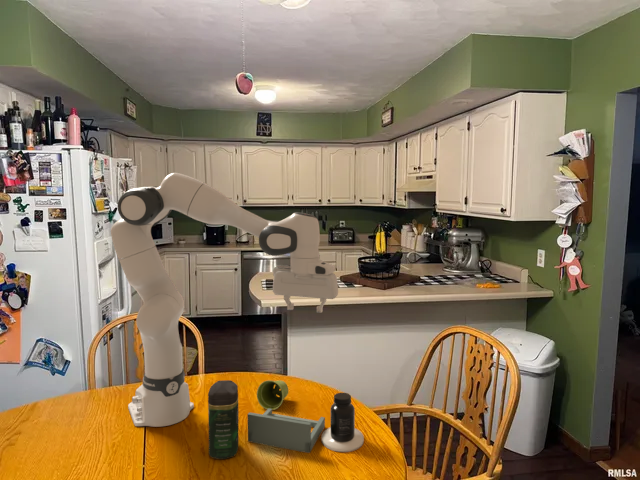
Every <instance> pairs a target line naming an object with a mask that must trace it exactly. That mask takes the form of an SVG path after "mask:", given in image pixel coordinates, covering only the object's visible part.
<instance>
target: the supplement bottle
mask: <svg viewBox="0 0 640 480" xmlns="http://www.w3.org/2000/svg"><path fill="white" fill-rule="evenodd" d="M355 424H356V423H355V407H354V405H353V404H352V396H351V395H350V394H349V393H347V392H338V393H335V394H334V397H333V404H332V405H331V407H330V427H331V437H332V439H334V440H335V441H338V442H348V441H351V440H352V439H353V438H354V432H355V426H356V425H355Z"/></svg>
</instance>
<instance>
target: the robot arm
mask: <svg viewBox="0 0 640 480" xmlns="http://www.w3.org/2000/svg"><path fill="white" fill-rule="evenodd" d="M172 210H173V211H176V212H179V213H180V214H183V215H185V216H187V217H189V218H192V219H193V220H195V221H199V222H202V223H203V224H204V223H205V224H206V225H207V224H208V225H223V226H224V225H225V226H231V227H234V228H237V229H239V230H241V231H244V232H245V233H248V234H249V235H250V234H251V235H252V236H254V237H256V238H258V245H259V247H260V249H261V250H262V252H264V253H265V254H266V255H269V256H271V257H279V256H282V255H283V256H284V255H287V254H290V257H289V258H290V264H284V265H283V264H277V265H276V266H274V267H273V270H272V272H273V274H272V275H273V281H272V292H273V294H274V295H276V296H283V300H284V302H285V303H286V305H287V308H286V309H287V311H293V310H294V307H295V306H294V303H292V302H291V300H290V298H291V297H297V298H298V297H299V298H300V297H301V298H312V299H313V298H314V299H319V302H320V305H317V306H316V313H323V311H324V310H323V309H324V308H323V307H324V306H325V304H326V302H327V300H335V298H337V296H338V295H339V284H338V278H337V275H336V274H335V273H334V272H335V270H336V268H335V267H336V266H335V265H334V264H332V263H330V262H326V261H325V260H321V257H320V256H321V255H320V251H319V247H320V242H321V235H320V233H321V232H320V221H319V220H318V218H317V217H316V216H314V215H313V214H311V213H307V212H299V211H295V212H293V213H292V214H291V215H289V216H287V217H286V218H284V219H282V220H269V219H266V218H264V217H262V216H259V215H257V214H256V213H253V212H251V211H249V210H247V209H244V208H243V207H241V206H240V205H238V204H237V203H235V202H234V201H233V200H232V199H230V198H229V197H228V196H226V195H225V194H223V193H222V192H221V191H219V190H218V189H216V188H215V187H214V186H212V185H209V184H208V183H205V182H203V181H202V180H200V179H198V178H195V177H192V176H189V175H186V174H183V173H179V172H172V173H170V174H168V175H166V176H165V177H164V178H163V179H162V181H161V183H160V185H159V186H154V185H153V186H148V185H145V186H144V185H143V186H140V187H135V188H131V189H129V190H127V191H126V192H124V193H123V194H122V195H120V197H119V199H118V202H117V212H118V214H119V216H120V219H118V220H117V221H116V222H114V223H113V224H112V226H111V229H110V234H111V240H112V244H113V248H114V251H115V253H116V256H117V258H118V259H117V260H118V261H119V264H120V265H121V268H122V270H123V273H124V275H125V278H126V280H127V282H128V284H129V285H130V286H131V287H132V288H133V289H134V290H135V291H136V292H137V294H138V295H139V297H140V299H141V300H142V302H143V304H142V305H141V306H140V307H139V310H138V312H137V315H136V320H135V321H136V323H135V324H136V327H137V329H138V331H139V333H140V334H139V335H140V338H141V341H142V346H143V354H144V355H143V356H144V374H143V377H142V384H141V385H139V387H137V388H136V390H135V395H133V396H132V397H131V402H130V403H128V405H127V406H128V407H127V408H128V411H129V414H130V417H131V419H132V422H133V425H134V426H135V427H152V428H153V427H154V428H155V427H156V428H157V427H161V428H162V427H166V426H171V425H174V424H177V423H180V422H182V421H183V420H185V419H186V418H188V417H189V415H190V411H191V410H192V409H194V407H195V406H194V402H191V400H190V399H191V398H190V389H189V384H188V383H187V382H185V376H186V375H185V370H184V368H183V367H184V366H183V344H182V343H181V338H180V334H179V320H180V318H181V316H182V315H183V313H184V312H185V311H184V310H185V301H184V297H183V295H182V294H181V293H180V292H179V290H178V288H177V286H176V285H175V283H174V281H173V280H172V278H171V276H170V275H169V273H168V271H167V269H166V267H165V266H164V264H163V263H164V262H163V261H162V257H161V255H160V253H159V251H158V249H157V246H156V244H155V241H154V239H153V236H152V227H155V226H156V225H159V223H160V222H162V221H163V220H165V219H166V218H167V217H168V216H169V215H170V214H171V212H172Z"/></svg>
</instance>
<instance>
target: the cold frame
mask: <svg viewBox="0 0 640 480" xmlns="http://www.w3.org/2000/svg"><path fill="white" fill-rule="evenodd" d="M325 420H326V417H323V416H320V418H319V419H318V420H313V419H309V418H308V419H307V418H301V417H295V416H291V415H290V416H289V415H283V414H279V413H273V410H272V409H270V408H268V409H265V412H264V413H263V414H261V413H256V412H248V413H247V442H249V443H254V444H259V445H264V446H270V447H275V448H280V449H285V450H291V451H297V452H301V453H307V454H310V453H311V451H312V450H313V448H314V447H315V445H316V442H317V441H318V439H319V437H320V436H321V435H322V433H323V432H324V429H325V426H326V421H325ZM312 428H313V429H312Z"/></svg>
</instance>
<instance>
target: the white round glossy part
mask: <svg viewBox="0 0 640 480" xmlns="http://www.w3.org/2000/svg"><path fill="white" fill-rule="evenodd" d="M320 436H321V438H320V440H321V443H322V445H323V446H324V447H325V448H327V449H329V450H331V451H333V452H337V453H338V452H339V453H350V452H354V451H357V450H359V449H360V448H361V447H362V446H363V445H364V441H365V439H364V438H365V437H364V434H363V432H362V431H361V430H359V429H357V428H355V432H354V438H353V439H352V440H351V441H348V442H338V441H335V440H334V439H332V437H331V426H330V427H327V428H326V429H325V430H323V431H322V433H321V435H320Z"/></svg>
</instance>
